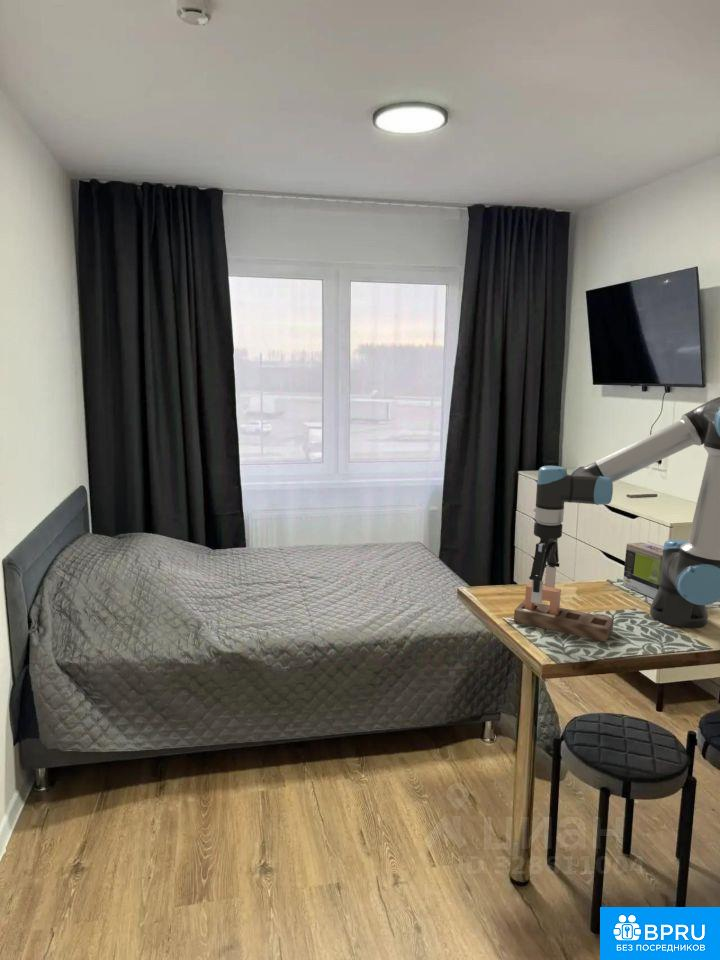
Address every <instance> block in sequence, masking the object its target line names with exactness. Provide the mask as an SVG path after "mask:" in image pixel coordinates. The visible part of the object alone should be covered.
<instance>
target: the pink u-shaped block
mask: <svg viewBox="0 0 720 960" xmlns="http://www.w3.org/2000/svg"><path fill="white" fill-rule="evenodd" d="M561 591H562V589H561V588H551V587H546V586H545V585H543V590H542V601H545V602H546V601H547V602H549V605H550V610H549V614H550V615H555V616H559V608H561V595H562V594H561V593H562V592H561ZM531 594H532V583H531V582H530V583H527V585H526V586H525V596H524V598H525V599H524V600H525V609H527V610H531V611H534V607H535V603H533V602H531Z"/></svg>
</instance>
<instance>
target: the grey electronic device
mask: <svg viewBox="0 0 720 960" xmlns="http://www.w3.org/2000/svg"><path fill="white" fill-rule="evenodd" d="M663 548H664V545H660V544H657V543H655V542H650V541H642V542H632V543H631V542H630V543H626V548H625V558H624V571H623V579H622V581H623V582H622V586H624V587H626V588H628V589H631V590H633V591H635V592H638V593H640V594H642V595H645V596H647V597H650V598H651V599H654V598H655V596H656V594H657V592H658V590H659V585H660V575H661V566H662V556H663Z"/></svg>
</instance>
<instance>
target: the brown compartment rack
mask: <svg viewBox="0 0 720 960" xmlns="http://www.w3.org/2000/svg"><path fill="white" fill-rule="evenodd" d="M549 610H550V604H549V605H548V604H544V603H541V604H538V603H535V607H534V611H531V610H527V609H525V599H524V600H523V601H522V602H521V603H519V605H518V606H517V607H516V608H515V609H514V611H513V613H514V614H513V622H514V623H518V624H523V625H526V626H527V625H528V626H531V627H535V628H540V627H541V629H545V628H546V629H545V630H549V629H551V630H550V631H555V632H558V631H559V633H563V632H564V633H563V634H567V633H568V635H573V636H576V635H577V636H578V637H581V638H585V637H586V638H585V639H590V638H591V639H590V640H594V639H595V641H600V642H603V641H604V643H607V642H606V641H608V640H609V637H610V636H611V634H612V632H613V629H614V628H613V627H614V621H615V619H614V618H613V617H607V616H602V615H599V614H593V613H590V612H589V613H588V612H583V611H579V610H578V611H577V610H574V609H568V608H563V607H560V608H559V616H555V615H550V614H549ZM607 639H608V640H607Z"/></svg>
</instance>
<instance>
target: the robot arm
mask: <svg viewBox="0 0 720 960" xmlns="http://www.w3.org/2000/svg"><path fill="white" fill-rule="evenodd" d="M694 445H695V446H697V447H700V446H703V448H704V449H705V451H706V452H707V455H708V456H707V458H706V463H705V467H704V472H703V476H702V480H701V485H700V488H699V493H698V496H697V500H696V506H695V510H694V513H693V518H692V523H691V527H690V530H689V531H690V532H689V535H688V536H689V537H688V540H686V539H668V540H667V539H666V540H665V541H664V544H663V546H664V548H663V556H662V566H661V575H660V585H659V590H658V592H657V594H656V596H655V598H653V600H652V603H651V604H650V607H649V614H650V616H651V618H653V619H655V620H656V621H658V622H661V623H663V624H666V625H669V626H674V627H679V628H692V629H694V628H701V627H705V626H706V625H707V624H708V620H709V619H708V618H709V614H708V610H707V606H708V605H713V604H715V603H717V602H719V601H720V396H719V397H716V398H713V399H710V400H709V401H707V402H705V403H702V404H701V405H699V406H697V407H695V408H694V409H692V410H690V411H688V412H685V414H682V415H681V418H680V420H678V421H676V422H674V423H672V424H670V425H668V426H666V427H664V428H661V429H659V430H657V431H655V432H654V433H652V434H650V435H648V436H645V437H643V438H641V439H639V440H636V441H635V442H632V443H631V444H629V445H626V446H624V447H623V448H621V449H618V450H617V451H614V452H612V453H610V454H608V455H607V456H604V457H602V458H600V459H598V460H595V461H594V462H592V463H589V464H587V465H586V466H578V467H576V468H575V469H573V470H572V472H571V473H570V474H568V471H567V468H566V467H563V466H560V465H559V466H558V465H544V466H541V467H539V469H538V473H537V479H536V480H537V481H536V491H535V493H536V495H535V496H536V497H535V508H533V512H534V520H535V521H534V525H533V535H534V536H535V537H537V538H539V539H540V540H539V542H537V543H536V544H535V550H534V557H533V561H532V562H533V563H532V567H531V572H530V575H529V577H528V579H529V580H532V581H531V584H532V594H531V602H533V603H538V604H543V603H542V602H543V600H542V590H543V586H546V587H551V588H555V587H556V575H557V574H556V573H557V568H560V563H559V560H560V559H559V547H558V546H559V545H558V539H560V538H561V537H562V535H563V524H562V523H563V522H564V513H565V512H564V511H565V503H571V504H572V503H574V504H575V503H576V504H588V505H596V506H599V505H609V504H610V503H611V501H612V500H613V499H612V498H613V494H614V493H613V492H614V483H615V482H617V481H620V480H621V479H623V478H625V477H627V476H629V475H632V474H634V473H636V472H638V471H640V470H642V469H645V468H647V467H649V466H651V465H653V464H655V463H658V462H659V461H661V460H664V459H666V458H668V457H670V456H672V455H674V454H676V453H679V452H681V451H683V450H685V449H687V448H689V447H693V446H694ZM544 573H545V576H544ZM543 577H544V580H543Z"/></svg>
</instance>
